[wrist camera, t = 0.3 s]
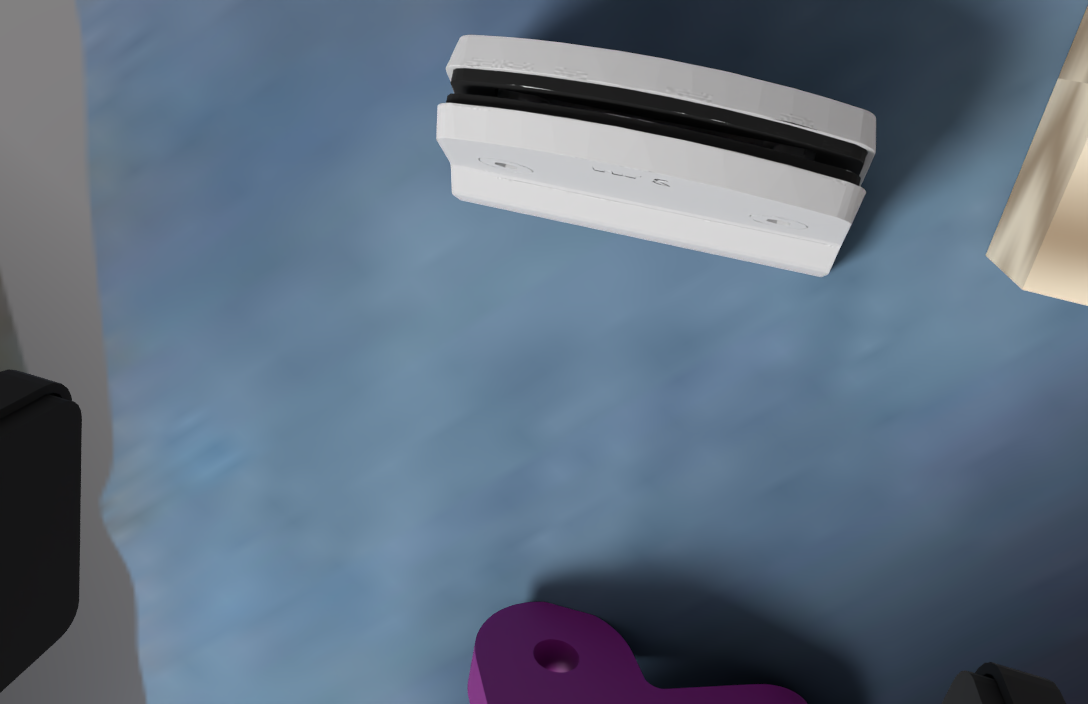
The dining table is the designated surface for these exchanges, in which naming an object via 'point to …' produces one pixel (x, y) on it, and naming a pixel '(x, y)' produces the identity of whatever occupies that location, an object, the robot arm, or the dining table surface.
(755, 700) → the mounting bracket
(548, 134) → the white black arched block
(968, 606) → the dining table surface
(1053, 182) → the notched wooden block
